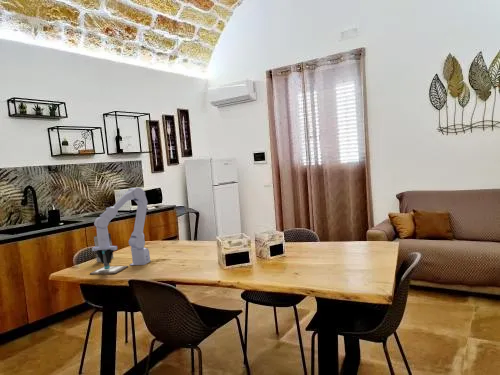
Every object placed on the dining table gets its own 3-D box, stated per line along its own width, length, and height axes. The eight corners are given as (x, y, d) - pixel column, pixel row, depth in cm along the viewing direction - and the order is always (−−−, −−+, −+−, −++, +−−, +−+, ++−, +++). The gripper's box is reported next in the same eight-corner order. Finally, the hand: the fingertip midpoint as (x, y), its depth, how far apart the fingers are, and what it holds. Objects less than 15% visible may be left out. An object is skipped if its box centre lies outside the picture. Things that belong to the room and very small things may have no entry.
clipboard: (128, 267, 211) (127, 264, 210) (115, 274, 199) (115, 270, 199) (103, 267, 215) (103, 264, 214) (90, 274, 203) (89, 271, 203)
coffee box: (105, 261, 229) (102, 236, 227) (96, 262, 230) (93, 236, 229) (114, 257, 238) (110, 232, 236) (105, 258, 239) (101, 233, 238)
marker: (111, 267, 206) (108, 249, 205) (107, 269, 203) (105, 251, 202) (106, 267, 206) (104, 250, 206) (103, 269, 203) (100, 251, 203)
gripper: (87, 241, 201) (90, 265, 202) (110, 240, 198) (113, 265, 199) (95, 238, 208) (98, 261, 209) (118, 237, 204) (121, 261, 206)
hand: (106, 263), depth 204 cm, fingers closed on marker, 3 cm apart
